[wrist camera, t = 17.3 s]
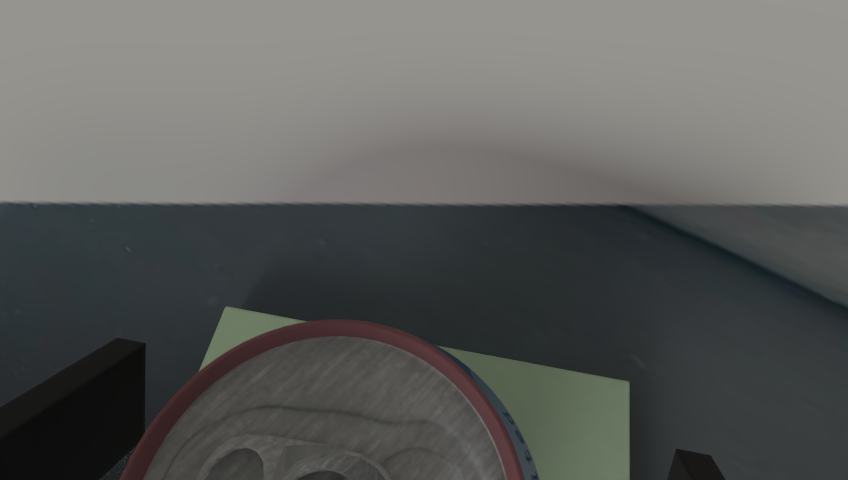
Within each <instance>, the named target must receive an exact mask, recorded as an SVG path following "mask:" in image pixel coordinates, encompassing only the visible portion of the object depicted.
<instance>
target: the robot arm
mask: <svg viewBox="0 0 848 480" xmlns="http://www.w3.org/2000/svg"><path fill="white" fill-rule="evenodd" d="M145 351H146V343H142V342H137V341H132V340H127V339H122V338H116V339H115V340H113V341H111V342H110V343H108V344H106V345H105V346H103V347H101V348H100V349H98V350H96V351H94V352H93V353H91V354H89V355H88V356H86V357H84V358H83V359H81V360H79V361H78V362H76V363H74V364H73V365H71V366H69V367H68V368H66V369H64V370H63V371H61V372H59V373H58V374H56V375H54V376H52V377H51V378H49V379H47V380H46V381H44V382H42V383H41V384H39V385H37V386H36V387H34V388H32V389H31V390H29V391H27V392H26V393H24V394H22V395H21V396H19V397H17V398H16V399H14V400H12V401H11V402H9V403H7V404H5V405H4V406H2V407H0V480H99V479H100V478H101V477H102V476H103V475H104V474H105V473H107V472H108V471H109V470H110V469H111V468H112V467H113V466H114V465H115V464H116V463H117V462H119V461H120V460H121V459H122V458H123V457H124V456H125V455H126V454H127V453H128V452H129V451H130V450H132V449H133V448H134V447H135V446H136V445H137V444H138V443H139V441H140V440H141V438H142V436H143V435H144V433H145ZM667 480H725V478H724V477H723V475H722V473H721V472H720V470H719V468H718V467H717V465H716V463H715V462H714V460H713V459H712V457H711V456H710V455H705V454H700V453H695V452H690V451H685V450H680V449H676V452H675V455H674V459H673V462H672V465H671V469H670V472H669V476H668V479H667Z"/></svg>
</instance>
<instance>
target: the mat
mask: <svg viewBox="0 0 848 480" xmlns="http://www.w3.org/2000/svg"><path fill="white" fill-rule="evenodd" d="M302 322H307V321H302V320H297V319H291V318H286V317H281V316H275V315H270V314H265V313H259V312H254V311H249V310H243V309H238V308H233V307H225V309H224V312H223V314H222V317H221V319H220V321H219V324H218V326H217V329H216V331H215V334H214V336H213V338H212V341H211V343H210V346H209V348H208V351H207V353H206V355H205V358H204V360H203V363H202V365H201V367H200V370H202V369H203V368H204V367H205V366H207V365H208V364H209V363H211V362H212V361H213V360H215V359H216V358H218V357H219V356H221V355H222V354H224V353H226V352H227V351H229V350H230V349H232V348H234V347H236V346H238V345H239V344H241V343H243V342H245V341H247V340H249V339H252V338H254V337H256V336H258V335H261V334H263V333H266V332H269V331H271V330H274V329H278V328H281V327H284V326H288V325H293V324H297V323H302ZM438 347H440V348H442V349H443V350H445V351H447V352H448V353H450V354H451V355H453V356H454V357H456V358H457V359H459V360H460V361H461V362H463V363H464V364H465V365H466V366H468V367H469V368H470V369H471V370H472V371H473V372H474V373H476V374H477V375H478V376H479V377H480V378H481V379H482V380H483V381H484V382H485V383H486V384H487V385H488V386H489V388H490V389H491V390H492V391H493V392H494V393H495V395H496V396H497V397H498V398H499V399H500V401H501V402H502V403H503V405H504V406H505V408H506V409H507V410H508V412H509V413H510V415H511V416H512V418H513V420H514V421H515V423H516V425H517V426H518V428H519V430H520V432H521V434H522V436H523V438H524V440H525V442H526V444H527V446H528V448H529V451H530V453H531V455H532V458H533V461H534V463H535V466H536V469H537V472H538V475H539V479H540V480H630V383H629V382H628V381H623V380H617V379H612V378H607V377H601V376H596V375H591V374H585V373H580V372H575V371H569V370H564V369H559V368H553V367H548V366H543V365H537V364H532V363H527V362H521V361H516V360H511V359H505V358H500V357H495V356H489V355H484V354H478V353H473V352H468V351H462V350H457V349H452V348H446V347H441V346H438ZM200 370H199V371H200Z"/></svg>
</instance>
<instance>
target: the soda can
mask: <svg viewBox="0 0 848 480" xmlns="http://www.w3.org/2000/svg"><path fill="white" fill-rule="evenodd" d="M120 480H540V479H539V475H538V472H537V469H536V466H535V463H534V461H533V458H532V455H531V453H530V451H529V448H528V446H527V444H526V442H525V440H524V438H523V436H522V434H521V432H520V430H519V428H518V426H517V425H516V423H515V421H514V420H513V418H512V416H511V415H510V413H509V412H508V410H507V409H506V408H505V406H504V405H503V403H502V402H501V401H500V399H499V398H498V397H497V396H496V395H495V393H494V392H493V391H492V390H491V389H490V388H489V386H488V385H487V384H486V383H485V382H484V381H483V380H482V379H481V378H480V377H479V376H478V375H477V374H476V373H474V372H473V371H472V370H471V369H470V368H469V367H468V366H466V365H465V364H464V363H463V362H461V361H460V360H459V359H457V358H456V357H454V356H453V355H451V354H450V353H448V352H447V351H445V350H443V349H442V348H440V347H438V346H436V345H435V344H433V343H430V342H428V341H426V340H424V339H422V338H419V337H416V336H414V335H411V334H409V333H407V332H404V331H401V330H399V329H396V328H393V327H389V326H385V325H382V324H377V323H372V322H366V321H358V320H344V319H330V320H316V321H308V322H302V323H297V324H293V325H288V326H284V327H281V328H278V329H274V330H271V331H269V332H266V333H263V334H261V335H258V336H256V337H254V338H252V339H249V340H247V341H245V342H243V343H241V344H239V345H238V346H236V347H234V348H232V349H230V350H229V351H227V352H226V353H224V354H222V355H221V356H219V357H218V358H216V359H215V360H213V361H212V362H211V363H209V364H208V365H207V366H205V367H204V368H203V369H202V370H200V371H199V372H198V373H197V374H196V375H194V376H193V377H192V378H191V379H190V380H189V381H188V382H187V383H186V384H185V385H184V386H182V387H181V388H180V389H179V390H178V391H177V393H176V394H175V395H174V396H173V397H172V398H171V399H170V400H169V401H168V402H167V404H166V405H165V406H164V407H163V408H162V410H161V411H160V412H159V413H158V415H157V416H156V417H155V419H154V420H153V422H152V423H151V424H150V426H149V427H148V428H147V430H146V432H145V433H144V435H143V436H142V438H141V440H140V441H139V443H138V444H137V446H136V448H135V450H134V452H133V454H132V455H131V457H130V459H129V461H128V463H127V465H126V468H125V470H124V472H123V474H122V476H121V479H120Z"/></svg>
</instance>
